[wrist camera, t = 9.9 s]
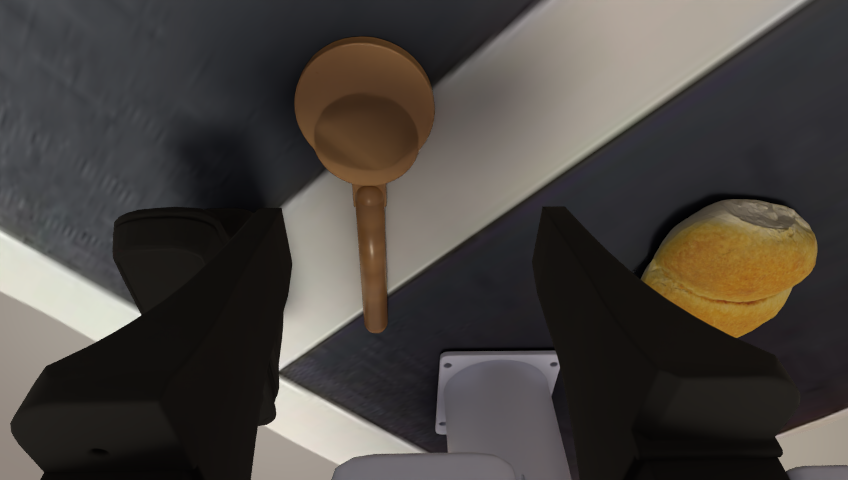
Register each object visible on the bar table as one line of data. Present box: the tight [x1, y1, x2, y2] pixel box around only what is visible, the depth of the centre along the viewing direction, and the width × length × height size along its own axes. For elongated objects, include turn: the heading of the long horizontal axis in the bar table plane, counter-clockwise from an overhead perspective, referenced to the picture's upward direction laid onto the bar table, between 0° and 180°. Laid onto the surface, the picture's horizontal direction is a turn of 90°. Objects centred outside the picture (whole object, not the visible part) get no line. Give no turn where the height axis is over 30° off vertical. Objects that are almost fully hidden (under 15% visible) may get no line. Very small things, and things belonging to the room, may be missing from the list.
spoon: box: [294, 36, 435, 333], centre depth 26 cm, size 17×6×1 cm, turn 179°
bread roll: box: [641, 199, 817, 338], centre depth 29 cm, size 8×9×4 cm
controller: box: [113, 207, 283, 426], centre depth 24 cm, size 4×12×10 cm, turn 2°
